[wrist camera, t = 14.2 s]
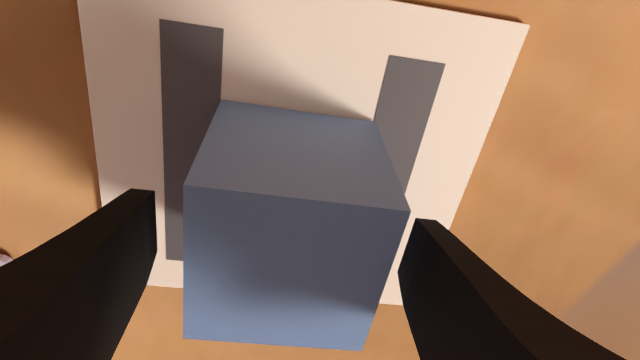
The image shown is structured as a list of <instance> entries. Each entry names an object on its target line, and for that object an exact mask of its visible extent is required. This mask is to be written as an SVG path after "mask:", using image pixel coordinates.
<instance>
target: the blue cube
mask: <svg viewBox="0 0 640 360" xmlns="http://www.w3.org/2000/svg"><path fill="white" fill-rule="evenodd" d="M410 213H411V210H410V207H409V205H408V202H407V200H406V197H405V195H404V192H403V190H402V187H401V185H400V182H399V180H398V177H397V175H396V172H395V170H394V167H393V165H392V162H391V160H390V157H389V155H388V152H387V150H386V147H385V145H384V142H383V140H382V137H381V134H380V132H379V129H378V127H377V124H376V122H373V121H366V120H359V119H352V118H345V117H338V116H331V115H325V114H318V113H311V112H304V111H297V110H290V109H283V108H276V107H269V106H262V105H255V104H249V103H242V102H235V101H228V100H221V101H220V103H219V106H218V108H217V110H216V112H215V115H214V117H213V119H212V121H211V124H210V126H209V128H208V130H207V133H206V135H205V137H204V139H203V142H202V144H201V146H200V148H199V151H198V153H197V155H196V157H195V160H194V162H193V164H192V166H191V169H190V171H189V173H188V175H187V178H186V180H185V182H184V184H183V339H196V340H211V341H225V342H239V343H253V344H268V345H282V346H296V347H310V348H324V349H339V350H353V351H362V349H363V346H364V343H365V341H366V338H367V335H368V332H369V329H370V326H371V324H372V321H373V318H374V315H375V312H376V309H377V307H378V304H379V301H380V298H381V295H382V293H383V290H384V287H385V284H386V281H387V278H388V276H389V273H390V270H391V267H392V264H393V261H394V259H395V256H396V253H397V250H398V247H399V244H400V242H401V239H402V236H403V233H404V230H405V228H406V225H407V222H408V219H409V216H410Z"/></svg>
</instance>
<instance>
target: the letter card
mask: <svg viewBox="0 0 640 360" xmlns="http://www.w3.org/2000/svg"><path fill="white" fill-rule="evenodd" d="M77 4H78V13H79V21H80V29H81V37H82V46H83V54H84V62H85V70H86V79H87V87H88V95H89V104H90V112H91V120H92V128H93V137H94V145H95V153H96V161H97V170H98V178H99V186H100V194H101V203H102V207H103V206H105V205H106V204H108V203H109V202H111V201H112V200H113V199H115V198H116V197H118V196H119V195H121V194H122V193H124V192H126V191H127V190H129V189H131V188H134V189H143V190H153V191H155V204H156V228H157V254H156V257H155V261H154V264H153V267H152V270H151V273H150V276H149V279H148V282H147V285H150V286H163V287H176V288H183V184H184V182H185V180H186V178H187V175H188V173H189V171H190V169H191V166H192V164H193V162H194V160H195V157H196V155H197V153H198V151H199V148H200V146H201V144H202V142H203V139H204V137H205V135H206V133H207V130H208V128H209V126H210V124H211V121H212V119H213V117H214V115H215V112H216V110H217V108H218V106H219V103H220V101H221V100H228V101H235V102H242V103H249V104H255V105H262V106H269V107H276V108H283V109H290V110H297V111H304V112H311V113H318V114H325V115H331V116H338V117H345V118H352V119H359V120H366V121H373V122H376V124H377V127H378V129H379V132H380V134H381V137H382V140H383V142H384V145H385V147H386V150H387V152H388V155H389V157H390V160H391V162H392V165H393V167H394V170H395V172H396V175H397V177H398V180H399V182H400V185H401V187H402V190H403V192H404V195H405V197H406V200H407V202H408V205H409V207H410V210H411V213H410V216H409V219H408V222H407V225H406V228H405V230H404V233H403V236H402V239H401V242H400V244H399V247H398V250H397V253H396V256H395V259H394V261H393V264H392V267H391V270H390V273H389V276H388V278H387V281H386V284H385V287H384V290H383V293H382V295H381V298H380V301H379V303H381V304H394V305H403V302H402V297H401V292H400V286H399V279H398V273H397V271H398V268H399V265H400V262H401V259H402V256H403V253H404V250H405V248H406V245H407V242H408V239H409V236H410V233H411V230H412V227H413V224H414V221H415V218H422V219H431V220H437V221H438V222H439V223H440V224H442V225H443V226H444V227H445V228H446V229H448V230H449V228H450V226H451V223H452V221H453V218H454V216H455V213H456V211H457V208H458V206H459V203H460V201H461V198H462V196H463V193H464V191H465V188H466V186H467V183H468V181H469V178H470V176H471V173H472V171H473V168H474V166H475V163H476V160H477V158H478V155H479V153H480V150H481V148H482V145H483V143H484V140H485V138H486V135H487V133H488V130H489V128H490V125H491V123H492V120H493V118H494V115H495V113H496V110H497V108H498V105H499V103H500V100H501V98H502V95H503V93H504V90H505V88H506V85H507V83H508V80H509V78H510V75H511V73H512V70H513V68H514V65H515V62H516V60H517V57H518V55H519V52H520V50H521V47H522V45H523V42H524V40H525V37H526V35H527V32H528V30H529V27H530V25H529V24H526V23H521V22H515V21H509V20H504V19H498V18H492V17H486V16H481V15H475V14H469V13H464V12H458V11H452V10H447V9H441V8H435V7H430V6H424V5H418V4H413V3H407V2H401V1H396V0H77Z"/></svg>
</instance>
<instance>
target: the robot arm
mask: <svg viewBox="0 0 640 360" xmlns="http://www.w3.org/2000/svg"><path fill="white" fill-rule="evenodd" d="M156 254H157V228H156V204H155V191H153V190H143V189H134V188H131V189H129V190H127V191H126V192H124V193H122V194H121V195H119V196H118V197H116V198H115V199H113V200H112V201H111V202H109V203H108V204H106V205H105V206H103V207H102V208H100V209H99V210H97V211H96V212H94V213H92V214H91V215H89V216H88V217H86V218H85V219H83V220H82V221H80V222H79V223H77V224H76V225H74V226H72V227H71V228H69V229H67V230H66V231H64V232H62V233H61V234H59V235H57V236H56V237H54V238H52V239H50V240H49V241H47V242H45V243H44V244H42V245H40V246H38V247H37V248H35V249H33V250H31V251H30V252H28V253H26V254H24V255H22V256H20V257H18V258H16V259H14V260H12V259H11V258H10V257H8V256H6V255H3V254H0V360H111V358H112V356H113V354H114V352H115V350H116V348H117V346H118V344H119V342H120V340H121V338H122V335H123V333H124V331H125V329H126V327H127V325H128V323H129V321H130V319H131V317H132V315H133V313H134V310H135V308H136V306H137V304H138V302H139V300H140V298H141V296H142V293H143V291H144V289H145V287H146V285H147V282H148V279H149V276H150V273H151V270H152V267H153V264H154V261H155V257H156ZM397 273H398V279H399V286H400V292H401V297H402V302H403V306H404V309H405V313H406V316H407V319H408V322H409V326H410V329H411V332H412V335H413V338H414V341H415V344H416V348H417V351H418V354H419V357H420V360H626V359H624V358H622V357H620V356H619V355H617V354H615V353H613V352H611V351H610V350H608V349H606V348H604V347H603V346H601V345H599V344H598V343H596V342H594V341H593V340H591V339H589V338H587V337H586V336H584V335H583V334H581V333H579V332H578V331H576V330H574V329H573V328H571V327H570V326H568V325H567V324H565V323H564V322H562V321H560V320H559V319H557V318H556V317H555V316H553V315H552V314H550V313H549V312H547V311H546V310H545V309H543V308H542V307H540V306H539V305H537V304H536V303H534V302H533V301H532V300H530V299H529V298H528V297H526V296H525V295H524V294H522V293H521V292H520V291H519V290H517V289H516V288H515V287H514V286H512V285H511V284H510V283H509V282H507V281H506V280H505V279H504V278H502V277H501V276H500V275H499V274H498V273H496V272H495V271H494V270H493V269H492V268H490V267H489V266H488V265H487V264H486V263H485V262H484V261H482V260H481V259H480V258H479V257H478V256H477V255H476V254H475V253H473V252H472V251H471V250H470V249H469V248H468V247H467V246H466V245H464V244H463V243H462V242H461V241H460V240H459V239H458V238H457V237H456V236H454V235H453V234H452V233H451V232H450V231H449V230H448V229H446V228H445V227H444V226H443V225H442V224H440V223H439V222H438V221H437V220H431V219H422V218H415V221H414V224H413V227H412V230H411V233H410V236H409V239H408V242H407V245H406V248H405V250H404V253H403V256H402V259H401V262H400V265H399V268H398V271H397Z"/></svg>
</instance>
